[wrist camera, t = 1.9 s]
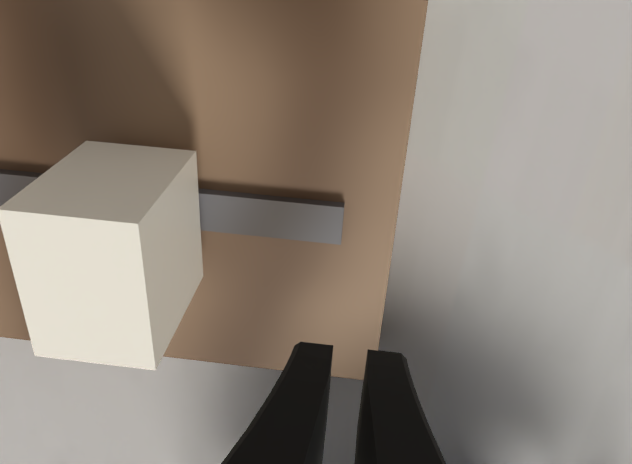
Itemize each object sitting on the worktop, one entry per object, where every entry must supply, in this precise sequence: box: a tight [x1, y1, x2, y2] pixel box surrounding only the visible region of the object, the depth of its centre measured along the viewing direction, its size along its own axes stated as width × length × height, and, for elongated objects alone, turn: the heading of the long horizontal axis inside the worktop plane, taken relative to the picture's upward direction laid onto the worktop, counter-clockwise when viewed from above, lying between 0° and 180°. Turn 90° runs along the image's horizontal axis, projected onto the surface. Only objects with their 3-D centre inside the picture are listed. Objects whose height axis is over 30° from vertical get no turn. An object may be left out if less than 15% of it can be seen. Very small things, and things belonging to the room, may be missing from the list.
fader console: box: [0, 0, 428, 380], centre depth 17 cm, size 22×12×2 cm, turn 87°
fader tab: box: [0, 141, 203, 370], centre depth 14 cm, size 3×4×4 cm
